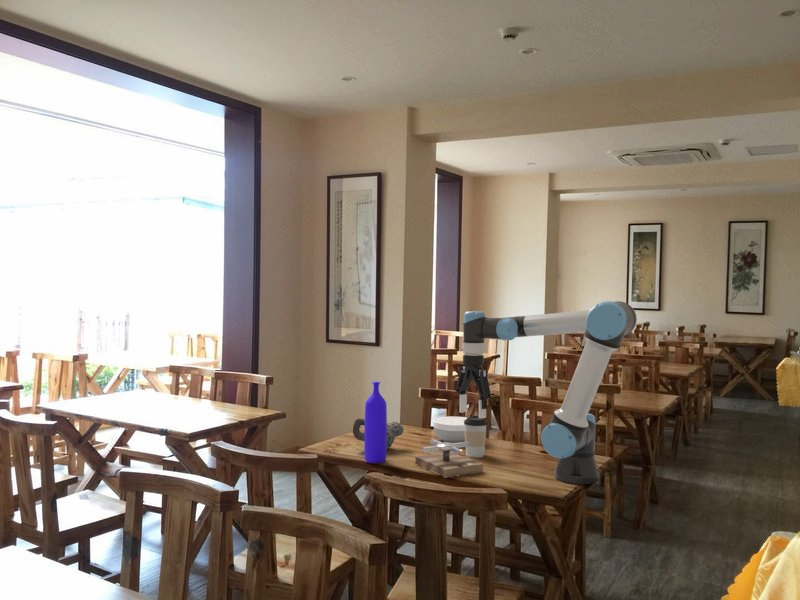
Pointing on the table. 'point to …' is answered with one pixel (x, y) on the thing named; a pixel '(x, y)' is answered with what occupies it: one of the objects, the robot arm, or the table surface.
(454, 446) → the capstan
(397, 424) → the teapot
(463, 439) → the bowl
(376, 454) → the bottle
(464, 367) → the robot arm
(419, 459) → the level stand
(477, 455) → the coffee cup
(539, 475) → the table surface
